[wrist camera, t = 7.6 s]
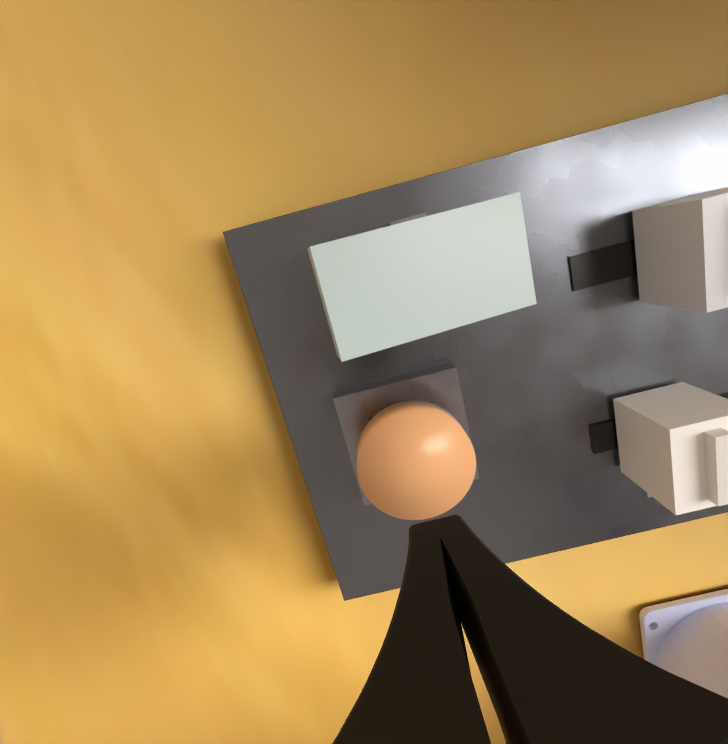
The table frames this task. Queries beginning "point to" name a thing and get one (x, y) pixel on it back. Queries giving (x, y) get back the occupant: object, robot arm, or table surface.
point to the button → (415, 460)
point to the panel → (501, 345)
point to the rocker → (424, 276)
